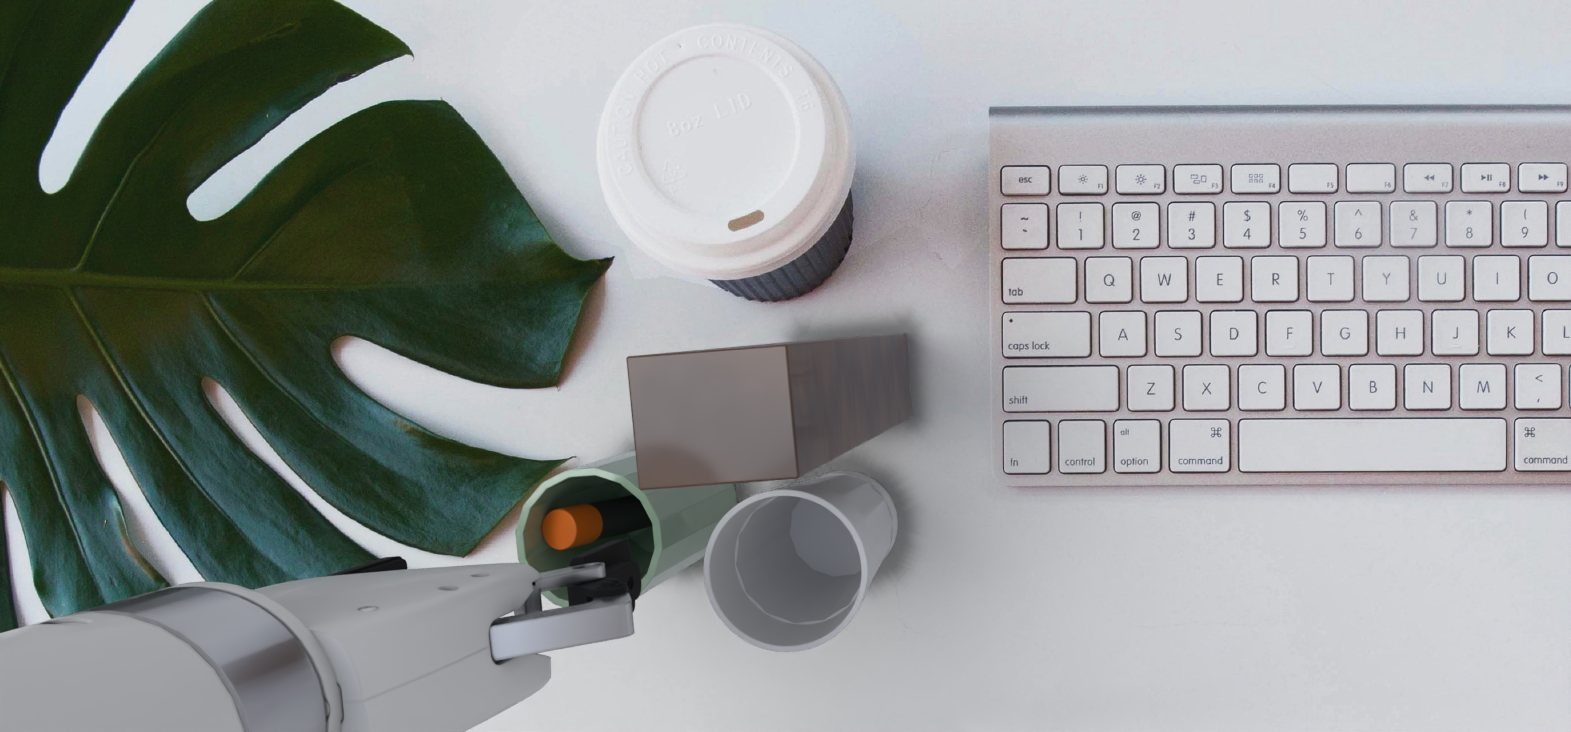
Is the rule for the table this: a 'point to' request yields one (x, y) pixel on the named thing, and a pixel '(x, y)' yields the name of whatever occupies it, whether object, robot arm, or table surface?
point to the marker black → (594, 522)
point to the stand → (763, 408)
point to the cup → (799, 559)
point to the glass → (657, 550)
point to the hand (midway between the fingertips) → (513, 583)
